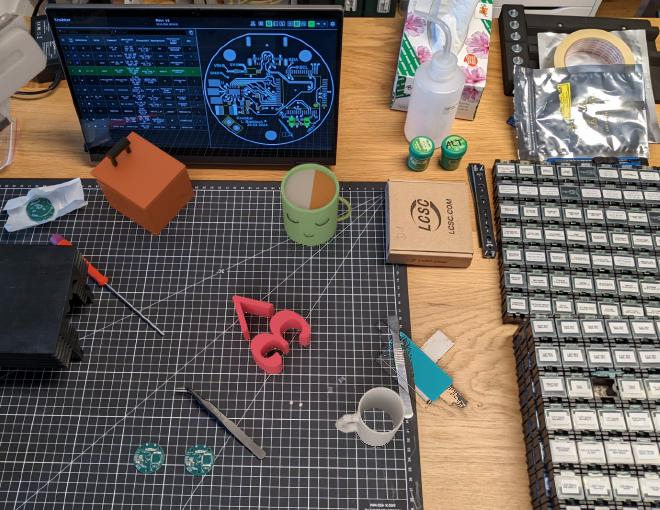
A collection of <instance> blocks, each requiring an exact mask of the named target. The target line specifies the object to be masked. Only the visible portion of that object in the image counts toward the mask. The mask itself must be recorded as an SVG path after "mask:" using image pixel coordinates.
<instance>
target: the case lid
mask: <svg viewBox="0 0 660 510" xmlns="http://www.w3.org/2000/svg"><path fill="white" fill-rule="evenodd" d="M105 155H106V156H105V157H104V158H103V159H102V160H101V161H100V162H99V163H98V164H96V166H95V167H94V168H92V170H91V171H90V172H89V174H90V175H91V176H92V177H93V178H95V179H96V180H97V179H98V180H99V181H101V182H102V183H104V184H105V185H107V186H108V187H110V188H111V189H113V190H114V191H116V192H117V193H119V194H120V195H122V196H123V197H125V198H126V199H128V200H129V201H131V202H132V203H134V204H135V205H137V206H138V207H140V208H141V209H142V210H144V211H145V210H146V209H147V208H148V207H149V206H150V205H151V204H152V203H153V202H154V201H155V200H156V199H157V198H158V197H159V196H160V195H161V194H162V193H163V192H164V191H165V190H166V189H167V188H168V187H169V185H170V184H171V183H172V182H173V181H174V180H175V179H176V178H177V177H178V176H179V175H180V174H181V173H182V172H183V171H184V170H185V169H187V166H186V165H185V164H184V163H182V162H181V161H180V160H177V159H176V158H175V157H173V156H171V155H170V154H168V153H167V152H165V151H164V150H162V149H161V148H159V147H158V146H156V145H155V144H153V143H151V142H149V141H148V140H147V139H145V138H143V137H142V136H141V135H139V134H138V133H136V132H134V131H131V132H130V133H129V134H128V135H127V136H126V137H125V136H122V138H121V139H120V140H119V141H118V142H117V143H115V145H114V146H112V147H111V148H110V149H109V150H108V151H107V152H106V153H105Z"/></svg>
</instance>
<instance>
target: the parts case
mask: <svg viewBox="0 0 660 510" xmlns="http://www.w3.org/2000/svg"><path fill="white" fill-rule="evenodd" d="M95 181H96V183H97V184H98V187H99V188H100V190H101V192H102V194H103V195H104V197H105V199H106V200H107V202H108V205H109V206H110V207H111V208H113V209H114V210H115V211H116V212H119V213H120V214H122V215H123V216H125V217H127V218H128V219H129V220H131V221H133V222H134V223H135V224H137V225H139V226H140V227H141V228H143V229H145V230H146V231H147V232H149V233H150V234H153V235H154V236H155V237H157V236H159V234H160V233H162V231H164V229H165V228H166V227H167V226H168V225H169V224H170V223H171V222H172V220H173V219H174V218H175V217H176V216H177V215H178V214H179V213H180V212H181V211H182V210H183V209H184V207H186V206H187V204H188V203H189V202H190V201H191V200H192V199H193V198H194V197H195V195H196V194H195V192H194V191H195V190H194V189H193V186H192V182H191V179H190V175H189V172H188V169H187V168H186V169H185V170H184V171H183V172H182V173H181V174H180V175H179V176H178V177H177V178H176V179H175V180H174V181H173V182H172V183H171V184H170V185H169V187H168V188H167V189H166V190H165V191H164V192H163V193H162V194H161V195H160V196H159V197H158V198H157V199H156V200H155V201H154V202H153V203H152V204H151V205H150V206H149V207H148V208H147V209H146V210H145V211H144V210H142V209H141V208H140V207H138V206H137V205H135V204H134V203H132V202H131V201H129V200H128V199H126V198H125V197H123V196H122V195H120V194H119V193H117V192H116V191H114V190H113V189H111V188H110V187H108V186H107V185H105V184H104V183H102V182H101V181H99V180H98V179H97V178H96V180H95Z"/></svg>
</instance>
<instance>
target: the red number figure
mask: <svg viewBox="0 0 660 510" xmlns="http://www.w3.org/2000/svg"><path fill="white" fill-rule="evenodd" d="M232 302H233V305H234V309H235V312H236V315H237V318H238V322H239V323H240V324H239V325H240V328H241V332H242V335H243V337H244V338H243V339H244V341H245V342H246V341H247V340H248V339H249V338H251V335H250V332H249V328H248V325H247V321H246V318H245V314H244V313H243V312H247V313H250V314H255V315H259V316H263V317H268V318H271V317H272V316H273V315H274V314H275V315H274V316H273V317H272V318H271V319H270V321H269V329H270V333H268V332H263V333H259V334H257V335H255V336H254V337H253V338H252V339H251V341H250V351H251V354H252V358H253V361H254V360H255V361H254V363H255V362H256V363H257V365H258V366H259V367H260V368H261V369H263V370H264V371H265V372H267V373H269V374H278V373H280V372H281V371H282V369H283V370H284V366H283V360H282V356H281V355H280V353H279V351H276V352H275V353H274V354H273V355H271V356H269V357H263V356H264V355H265V354H266V353H267V352H268V351H269V350H271V349H274V348H276V349H280V350H281V351H282V352H284V353H285V354H287V353H288V352H289V353H290V345H289V342H288V341H287V340H286V339H284V336H282V334H283V333H284V332H285V331H286V330H288V329H289V328H296V329H298V330H299V331H301V333H299V335H298V343H299V345H300V344H301V345H304V346H306V345H308V344H309V343H310V341H311V342H312V332H311V331H312V330H311V326H310V324H309V323H308V322H307V320H306V319H305V318H304V317H302V315H301V314H300V313H299V314H298V313H297V312H295V311H294V310H293V311H292V310H289V309H284V310H283V309H282V310H280V311H278V312H276V313H275V308H274V307H275V306H274V303H270V302H266V301H263V300H257V299H253V298H248V297H244V296H241V295H235V294H234V295H233V296H232ZM310 344H311V343H310ZM282 352H281V353H282ZM256 363H255V364H256ZM257 365H256V366H257ZM258 366H257V367H258ZM259 367H258V368H259ZM260 368H259V369H260ZM261 369H260V370H261ZM265 372H264V373H265Z"/></svg>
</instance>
